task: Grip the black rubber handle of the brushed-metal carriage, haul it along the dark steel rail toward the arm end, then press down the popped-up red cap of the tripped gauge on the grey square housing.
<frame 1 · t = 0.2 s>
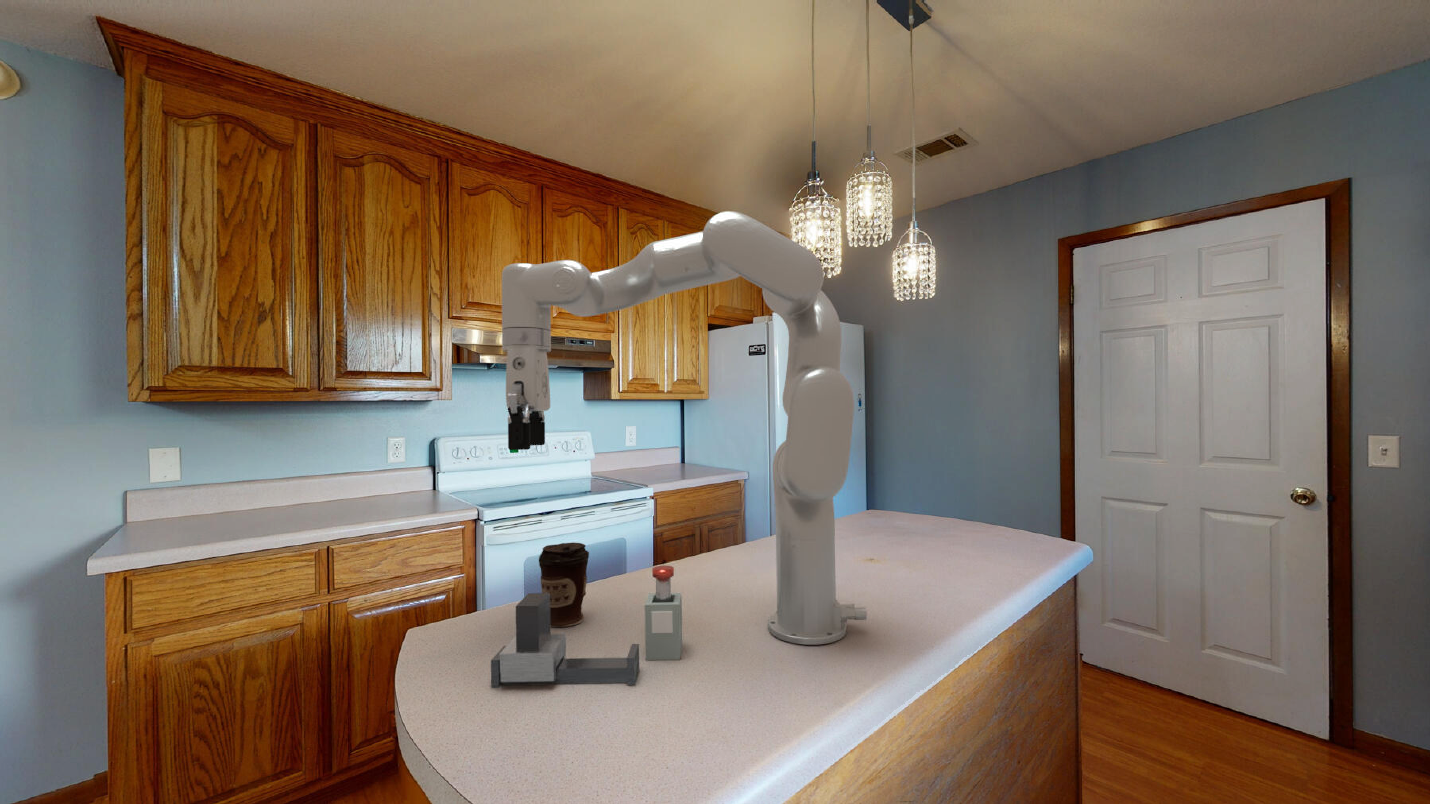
hand: (527, 447, 89), 31 cm above the countertop, fingers open, 9 cm apart
carriage: (533, 635, 75), point 6 cm above the countertop, slide at 0.0 cm
grey square housing: (664, 652, 82), on the countertop
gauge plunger: (663, 591, 82), point 9 cm above the countertop, slide at 0.0 cm
rail: (567, 678, 75), on the countertop
coffee cup: (564, 622, 95), on the countertop
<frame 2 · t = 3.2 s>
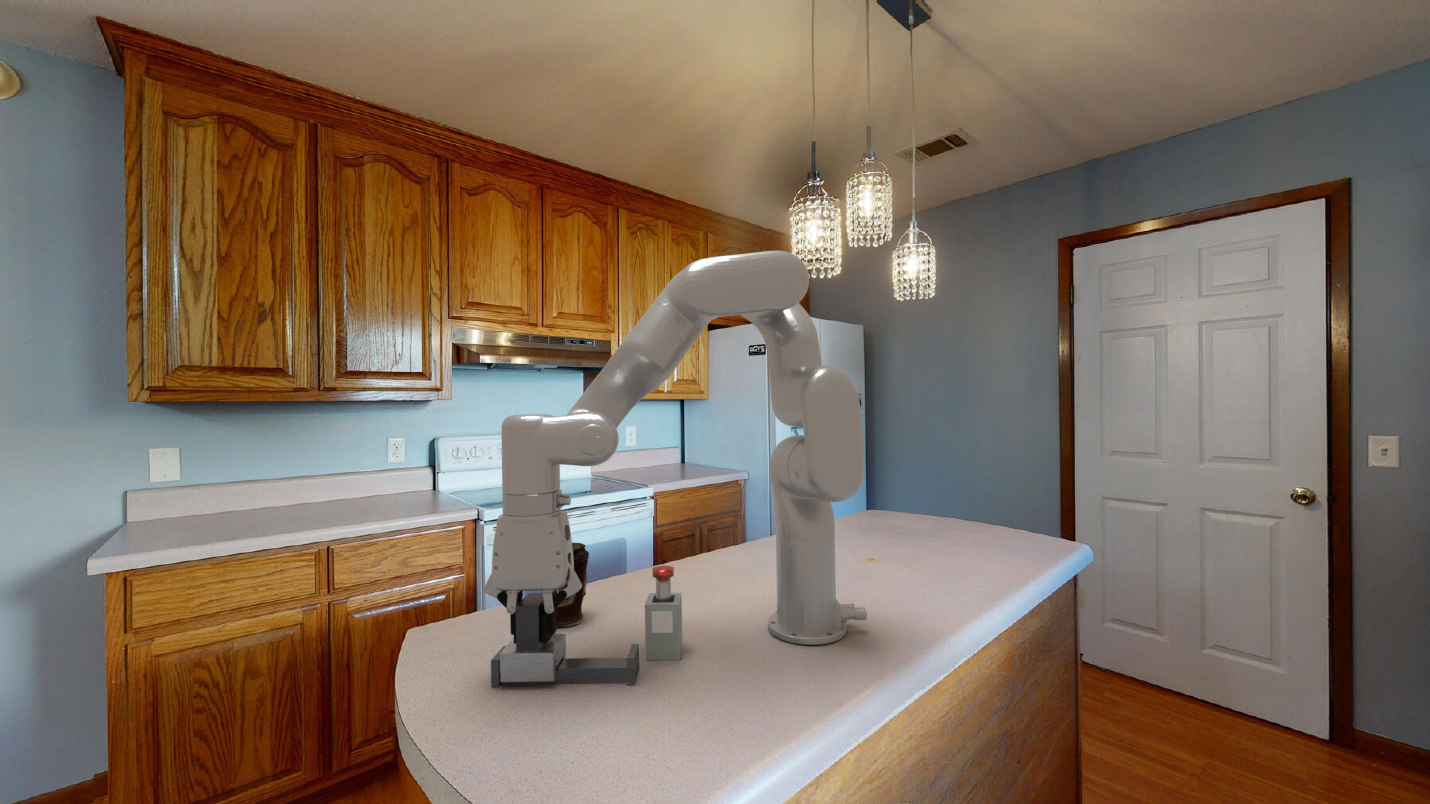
hand: (533, 638, 75), 6 cm above the countertop, fingers closed on carriage, 3 cm apart
carriage: (533, 635, 75), point 6 cm above the countertop, slide at 0.0 cm, touching gripper
everything else where it was.
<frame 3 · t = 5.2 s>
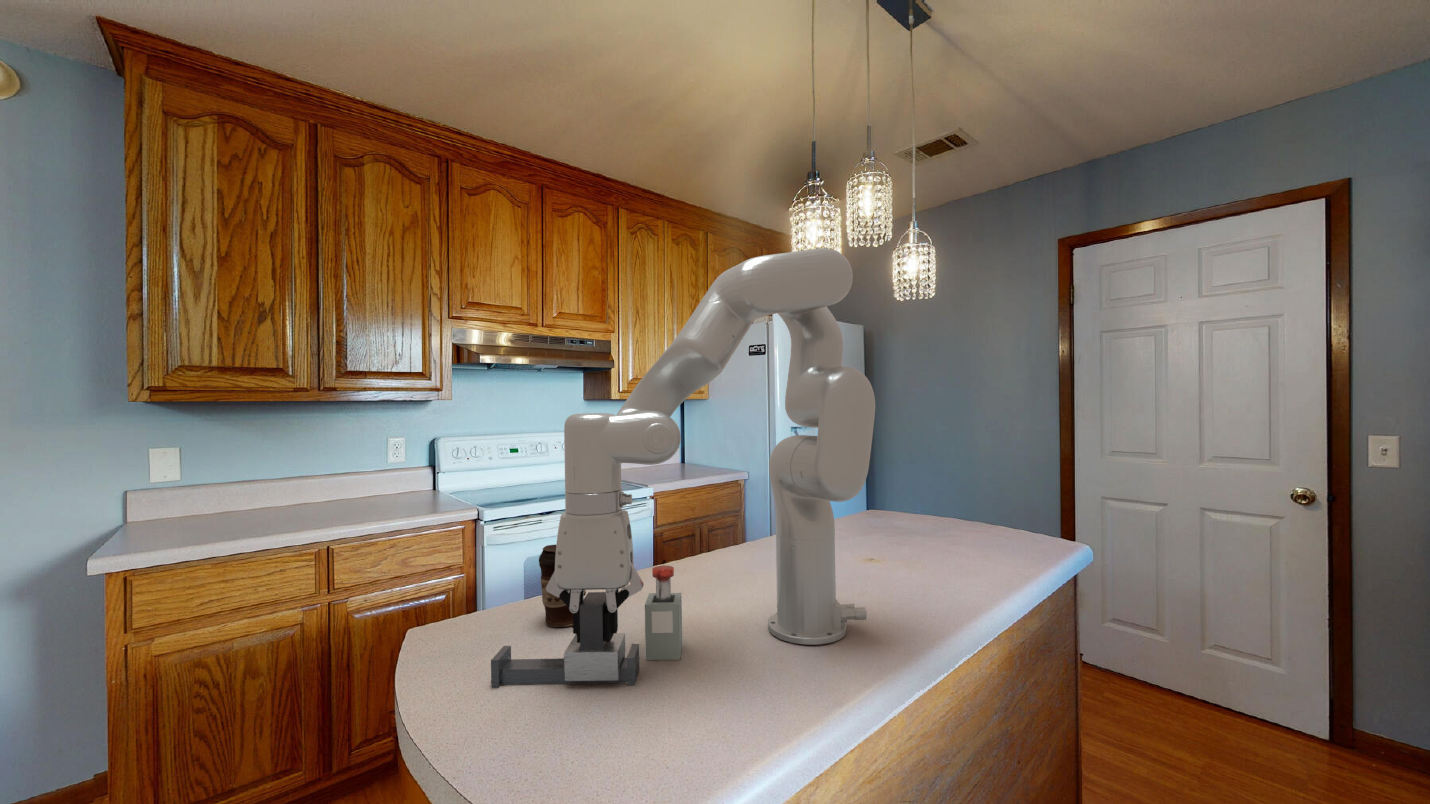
hand: (595, 637, 75), 6 cm above the countertop, fingers closed on carriage, 3 cm apart
carriage: (595, 634, 75), point 6 cm above the countertop, slide at 8.4 cm, touching gripper
everything else where it was.
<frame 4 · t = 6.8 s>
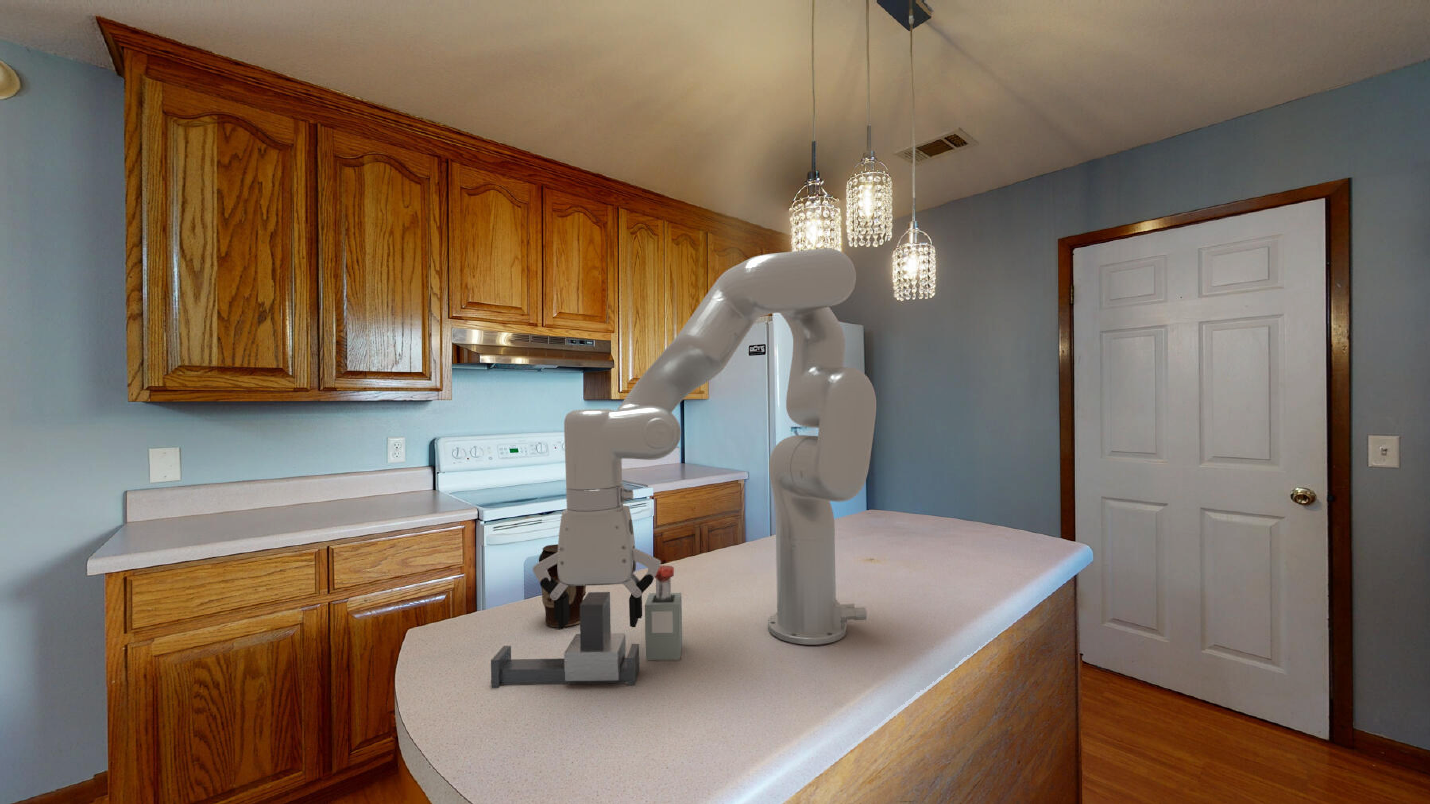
hand: (599, 624, 75), 7 cm above the countertop, fingers open, 9 cm apart
carriage: (595, 634, 75), point 6 cm above the countertop, slide at 8.5 cm
everything else where it was.
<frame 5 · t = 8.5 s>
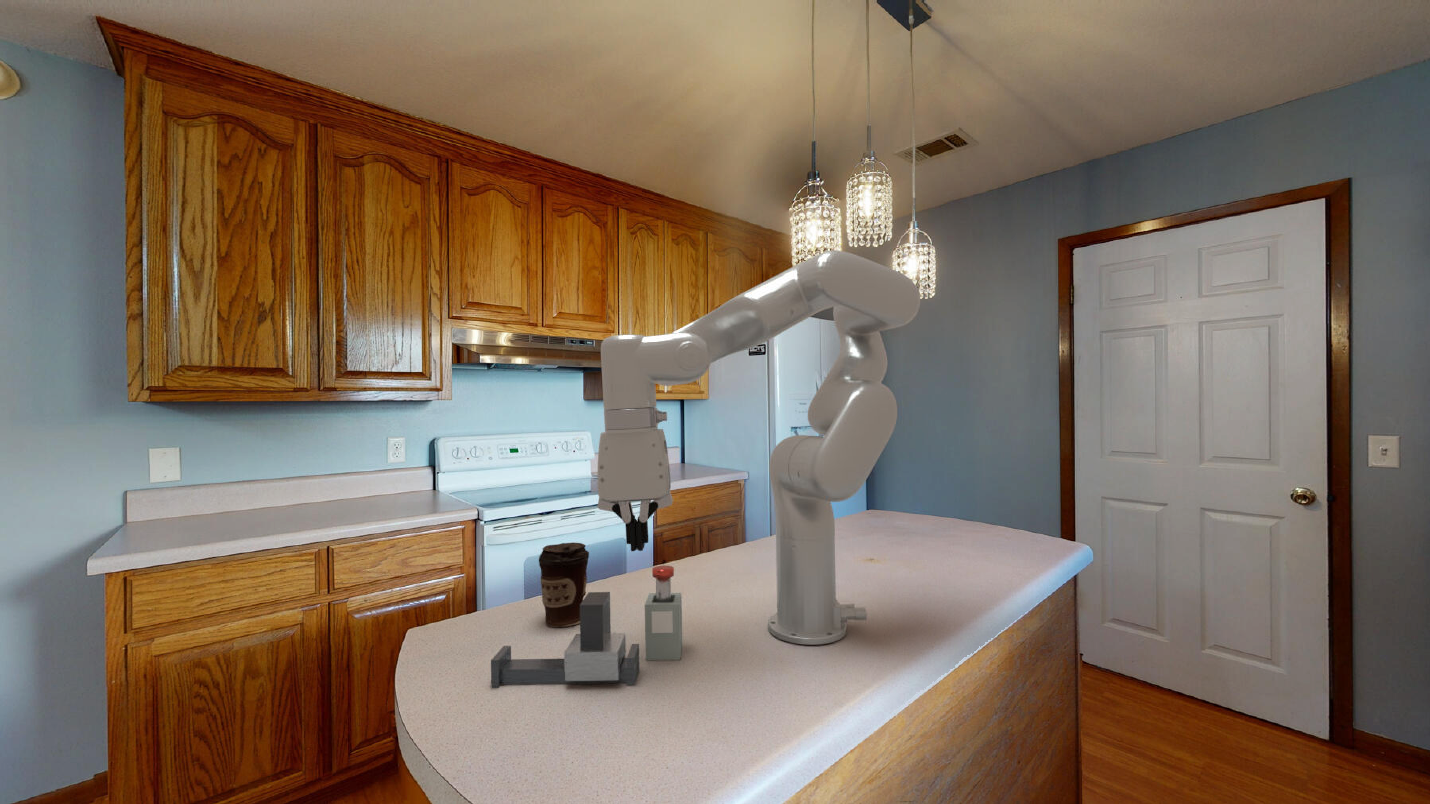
hand: (637, 548, 79), 16 cm above the countertop, fingers closed
nothing on the countertop moved.
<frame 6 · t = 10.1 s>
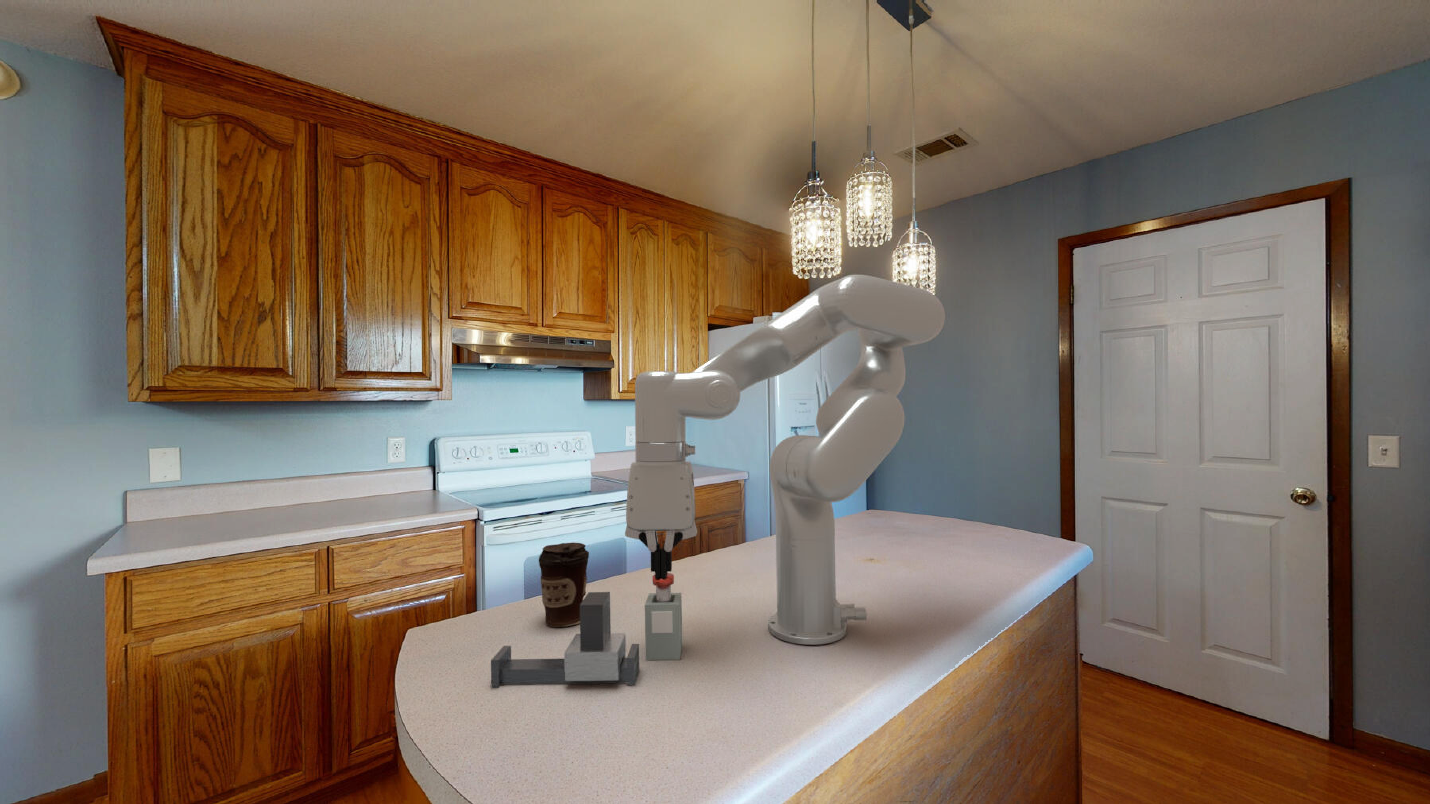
hand: (661, 576, 82), 11 cm above the countertop, fingers closed
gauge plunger: (663, 599, 82), point 8 cm above the countertop, slide at 1.1 cm, touching gripper
everything else where it was.
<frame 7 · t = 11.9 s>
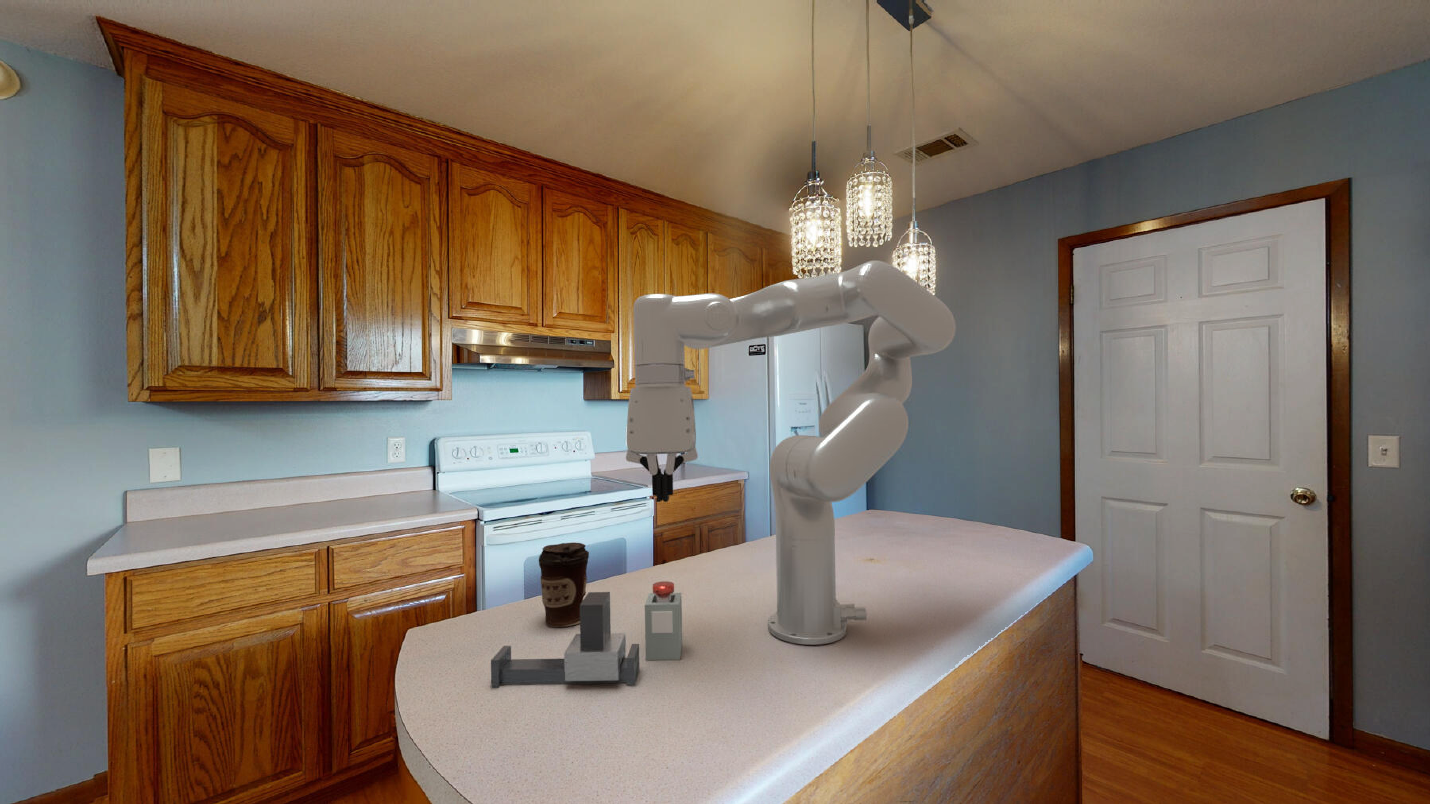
hand: (663, 500, 83), 23 cm above the countertop, fingers closed
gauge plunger: (663, 608, 82), point 7 cm above the countertop, slide at 2.4 cm
everything else where it was.
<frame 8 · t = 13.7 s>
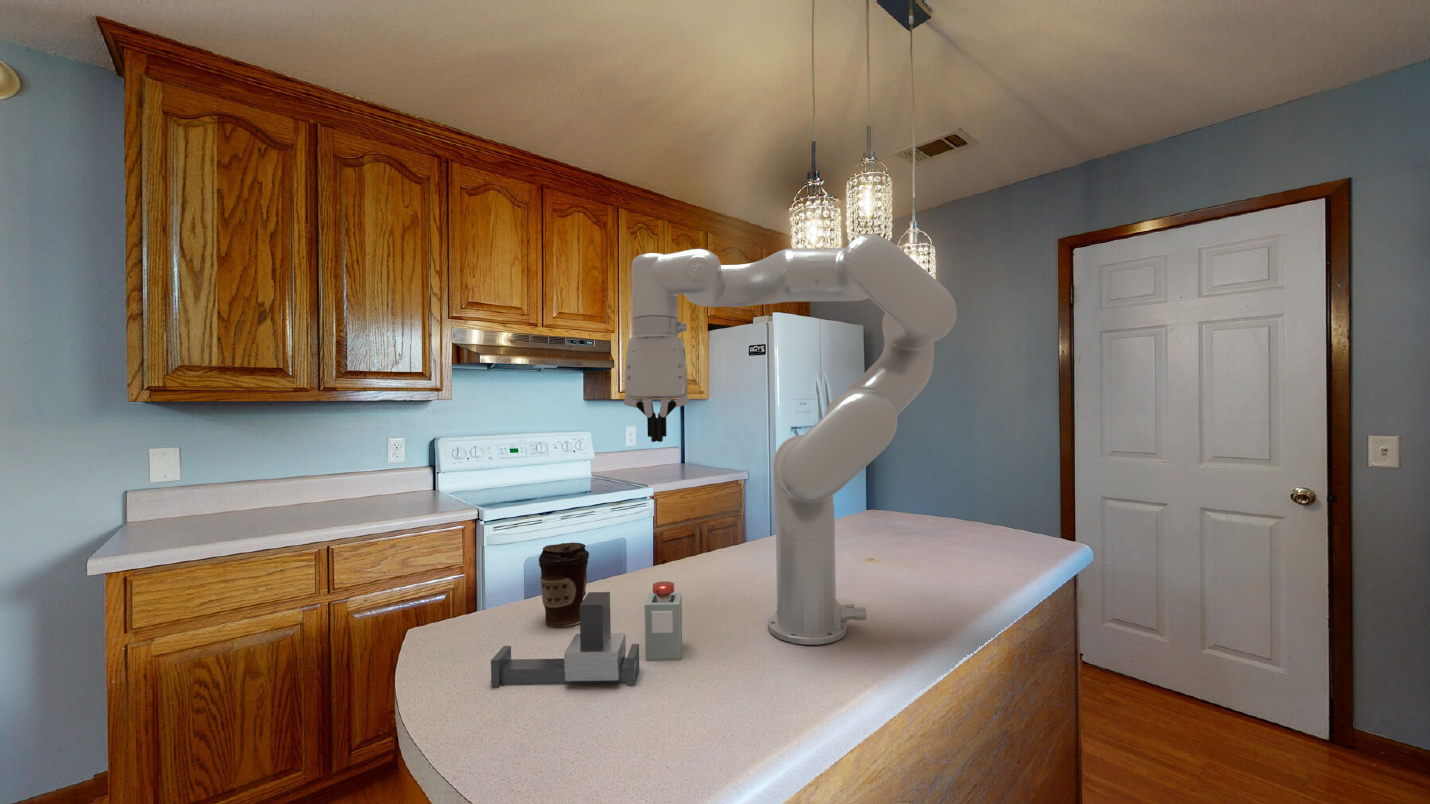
hand: (657, 441, 91), 31 cm above the countertop, fingers closed
nothing on the countertop moved.
at the end: carriage slide at 8.5 cm; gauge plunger slide at 2.4 cm; the gripper is holding nothing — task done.
